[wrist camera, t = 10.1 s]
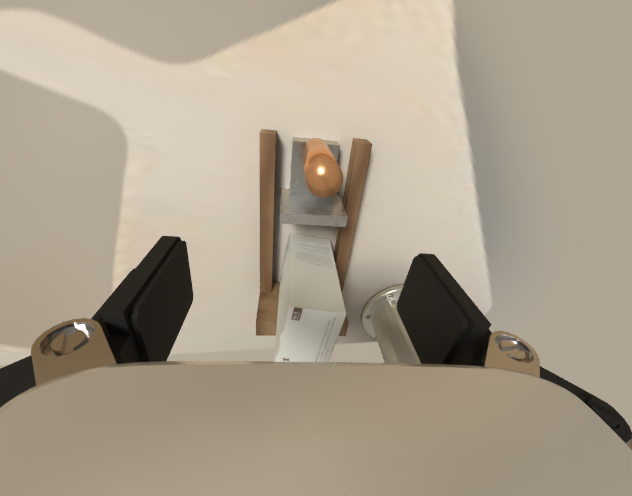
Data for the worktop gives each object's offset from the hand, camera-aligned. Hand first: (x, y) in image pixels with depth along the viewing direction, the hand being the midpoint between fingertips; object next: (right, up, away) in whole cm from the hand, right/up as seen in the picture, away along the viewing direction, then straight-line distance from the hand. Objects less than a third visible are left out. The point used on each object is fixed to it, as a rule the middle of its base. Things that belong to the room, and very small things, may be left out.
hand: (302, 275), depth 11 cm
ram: (0, +11, +21) cm, 24 cm away
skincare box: (-1, 0, +28) cm, 28 cm away
